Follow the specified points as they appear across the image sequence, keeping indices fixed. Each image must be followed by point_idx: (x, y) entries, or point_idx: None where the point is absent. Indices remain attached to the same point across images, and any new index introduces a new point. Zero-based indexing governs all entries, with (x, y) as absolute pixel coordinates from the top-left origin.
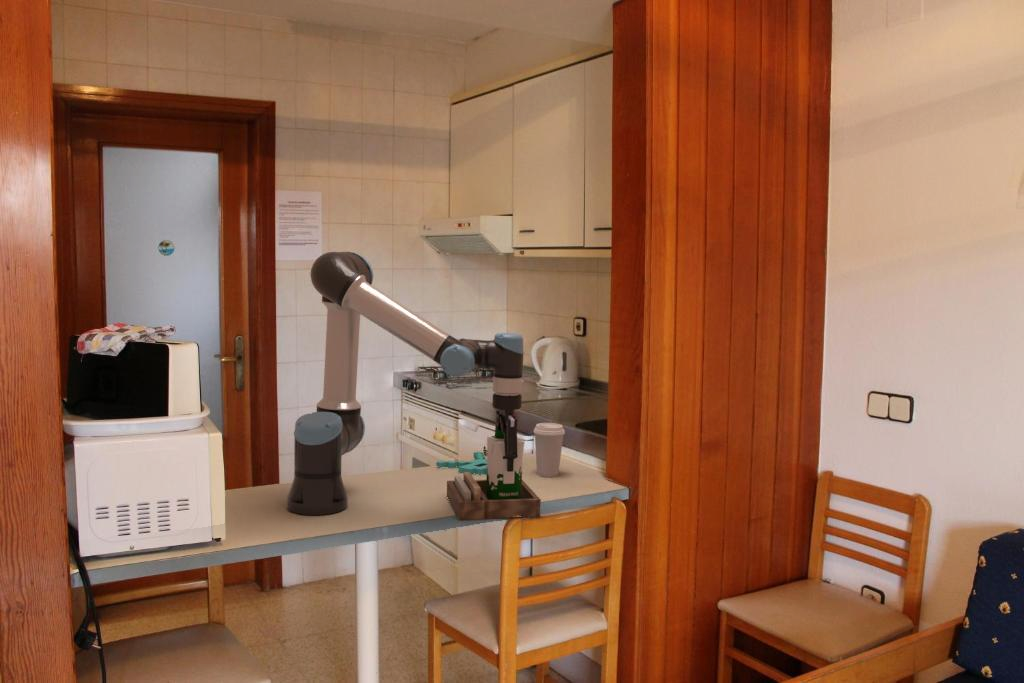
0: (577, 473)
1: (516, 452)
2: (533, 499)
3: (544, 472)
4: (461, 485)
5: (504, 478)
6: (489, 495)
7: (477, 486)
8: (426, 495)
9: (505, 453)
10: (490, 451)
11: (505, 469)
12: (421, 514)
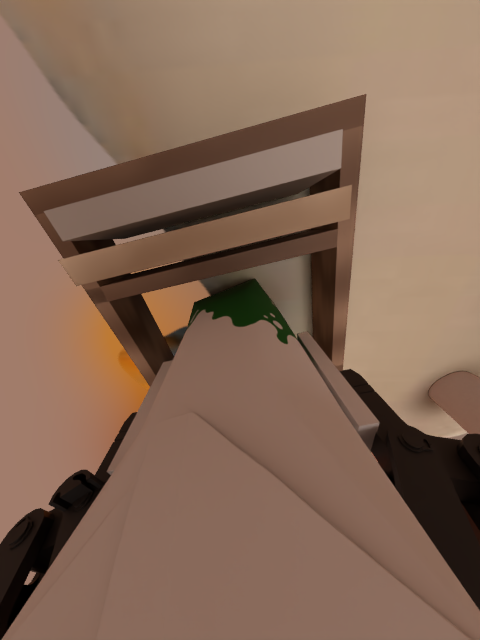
0: (433, 420)
1: (32, 590)
2: None
3: (444, 388)
4: (162, 184)
5: (156, 377)
6: (219, 296)
7: (96, 271)
8: (361, 15)
9: None
10: (166, 441)
11: (141, 411)
12: (75, 4)
